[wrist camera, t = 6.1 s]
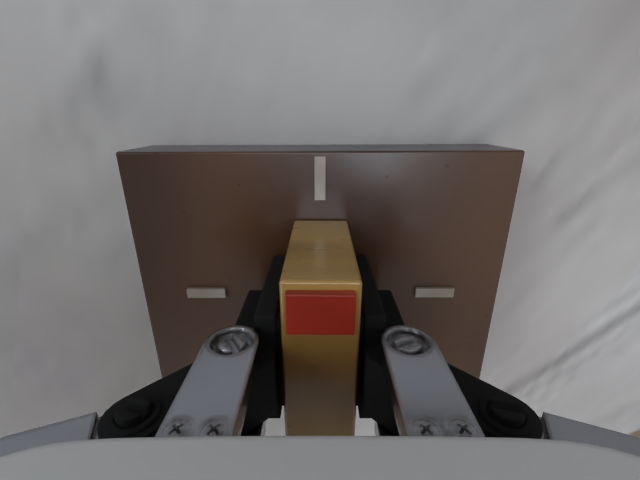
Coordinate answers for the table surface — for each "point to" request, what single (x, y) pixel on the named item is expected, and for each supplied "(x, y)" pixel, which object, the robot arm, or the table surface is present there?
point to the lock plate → (320, 205)
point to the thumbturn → (320, 329)
